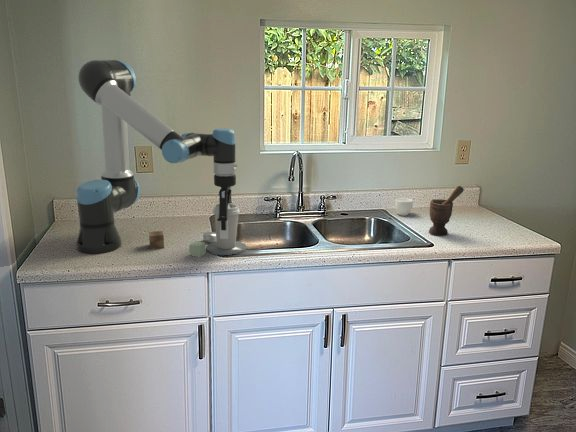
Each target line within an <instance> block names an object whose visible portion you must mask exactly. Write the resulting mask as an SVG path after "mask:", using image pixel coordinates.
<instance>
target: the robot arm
mask: <svg viewBox="0 0 576 432" xmlns="http://www.w3.org/2000/svg"><path fill="white" fill-rule="evenodd" d="M77 76H78V77H77V78H78V79H77V80H78V83H79V84H78V85H79V86H80V88H81V90H82V92H84V93H85V95H86V96H87V97H88V98H89V99H90V100H91V101H93V102H94V103H96V104H97V105H99V106H100V105H101V116H102V117H101V119H102V134H103V153H104V171H103V172H101V174H100V175H101V177H100V178H101V179H93V180H88V181H85V182H83V183H81V184H79V186H77V189H76V201H77V207H78V208H77V209H78V219H79V231H78V236H77V239H76V249H77V251H79V252H81V253H84V254H104V253H108V252H111V251H115V250H117V249H119V248H120V247H121V246H122V239H121V236H120V233H119V232H118V229H117V227H116V225H115V213H117V212H119V211H121V210H124V209H127V208H129V207H131V206H132V205H134V204H135V203H137V201H138V200H139V198H140V194H141V187H140V183H139V182H138V180H137V179H136V178H135V173H134V172H133V171H132V170H130V155H129V154H130V153H129V131H128V129H129V128H128V125H130V126H129V127H131V128H132V129H134V130H135V131H136V132H138V133H140V135H142V136H143V137H144V138H145V139H147V140H148V141H150V142H151V143H152V144H154V145H155V146H156V147H157V148H158V149H160V150H161V154H162V156H163V158H164V160H165V161H166V162H168V163H170V164H179V163H183V162H186V161H188V160H190V159H193V158H196V157H199V156H201V157H202V156H205V157H213V174H214V175H213V184H214V185H215V186H216V187H220V189H219V191H218V196H219V201H218V202H219V203H218V204H219V219H217V221H220V239H228V220H227V212H228V203H231V204H233V203H232V201H233V200H232V188H231V187H234V186H236V185H237V181H236V180H237V179H236V177H237V176H236V172H237V171H236V170H237V168H238V164H236V142H237V141H236V134H235V131H234V129H233V128H225V127H224V128H222V127H221V128H220V127H219V128H214V129H213V130H212V133H210V134H209V133H208V134H207V133H197V132H196V133H195V132H183V134H179V133H177V131H175V130H173V128H171V127H170V126H169V125H167V124H166V123H165V122H163V120H161V119H160V118H158V117H157V116H156V115H155V114H154V113H152V112H151V111H149V110H148V109H147V108H145V106H143V105H142V104H141V103H139V102H138V101H137V100H135V98H133V97H132V95H131V92H132V91H133V90H134V89H135V88H136V84H137V77H136V74H135V71H134V69H133V68H132V67H131V66H130V65H129V64H128V63H126V62H124V61H121V60H116V59H108V60H107V59H106V60H105V59H104V60H100V59H93V60H90V61H87V62H86V63H84V64H83V65H82V66H81V67H80V68H79V72H78V75H77Z"/></svg>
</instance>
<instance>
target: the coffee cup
mask: <svg viewBox="0 0 576 432" xmlns="http://www.w3.org/2000/svg"><path fill="white" fill-rule="evenodd" d="M212 213H213V214H214V223H215V233H216V238H217V247H218V248H221V249H232V248H234V247H235V243H236V241H237V234H238V233H237V232H238V224H239V223H238V222H239V214H241V211H240V208H239V205H238V204H235V203H232V204H231V203H228V212H227V220H228V239H220V221H217V219H219V203H218V204H216V205H215V206H214V208H213V210H212Z"/></svg>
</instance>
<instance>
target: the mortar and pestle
mask: <svg viewBox="0 0 576 432" xmlns="http://www.w3.org/2000/svg"><path fill="white" fill-rule="evenodd" d="M464 189H465V188H464V187H462V186H461V185H458V186H456V187H455V188H454V190H453V191H452V193H451V194H450V195H449V197H447V199H443V198H435V199H431V200H430V203H429V204H430V205H429V218H430V221H431V223H432V226H431V227H430V228H429V230H428V233H429V234H430V235H431V236H437V237H438V236H440V237H441V236H447V235H448V234H449V231H448V229H447V228H446V224H447V225H448V223H449V222H450V219H451V218H452V213H453V206H454V201H455V200H456V199H457V198H458V197H460V195H462V194H463V193H464Z"/></svg>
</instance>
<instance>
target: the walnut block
mask: <svg viewBox="0 0 576 432" xmlns="http://www.w3.org/2000/svg"><path fill="white" fill-rule="evenodd" d="M148 237H149V238H148V239H149V249H150V250H155V249H157V250H158V249H165V238H164V230H155V231H148Z"/></svg>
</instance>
